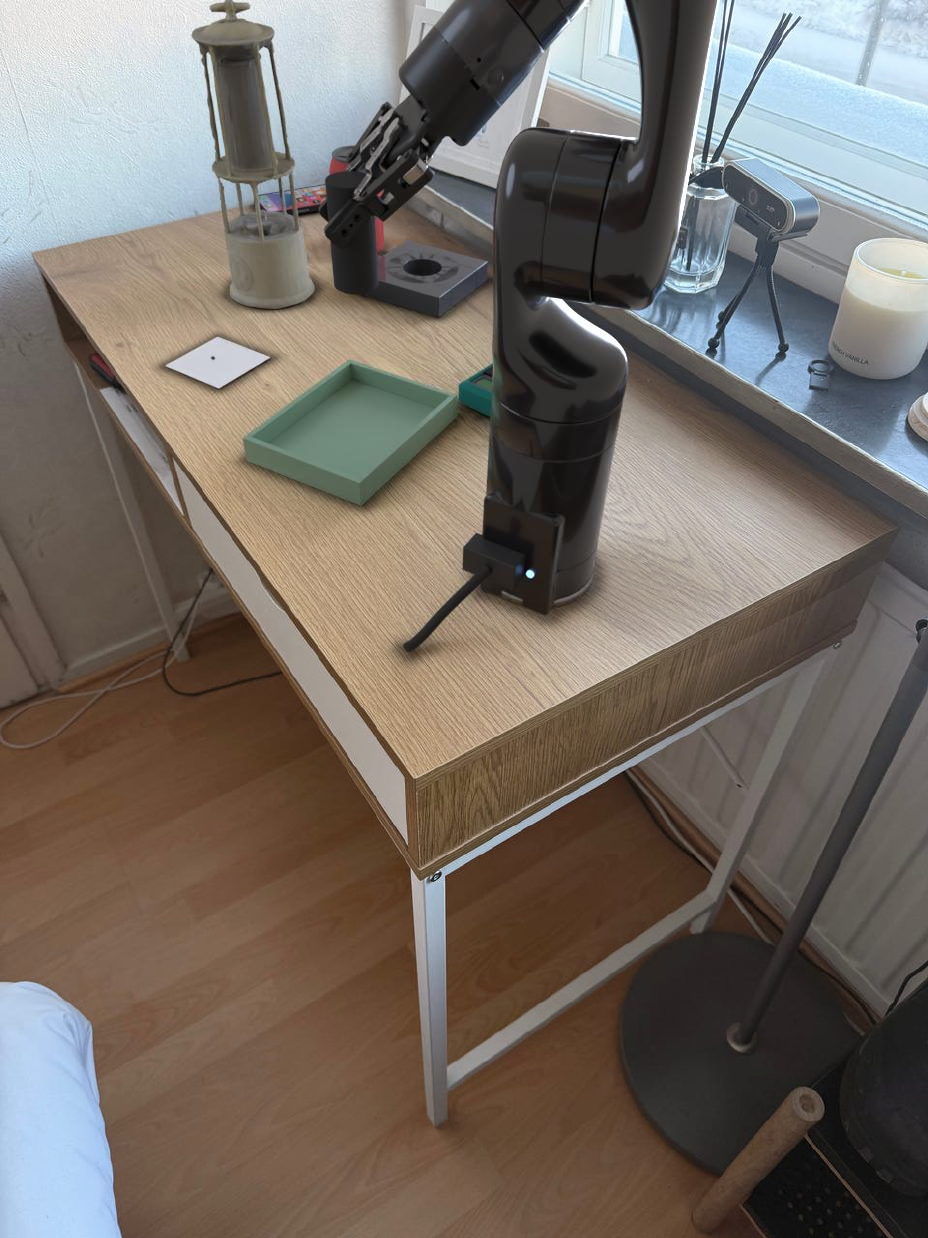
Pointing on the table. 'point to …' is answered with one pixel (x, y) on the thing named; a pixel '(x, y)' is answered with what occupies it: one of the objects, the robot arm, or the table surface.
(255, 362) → the coaster
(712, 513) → the table surface
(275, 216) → the lamp
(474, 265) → the drain plate
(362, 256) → the black cylinder
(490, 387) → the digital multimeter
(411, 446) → the basin tray
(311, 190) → the smartphone
